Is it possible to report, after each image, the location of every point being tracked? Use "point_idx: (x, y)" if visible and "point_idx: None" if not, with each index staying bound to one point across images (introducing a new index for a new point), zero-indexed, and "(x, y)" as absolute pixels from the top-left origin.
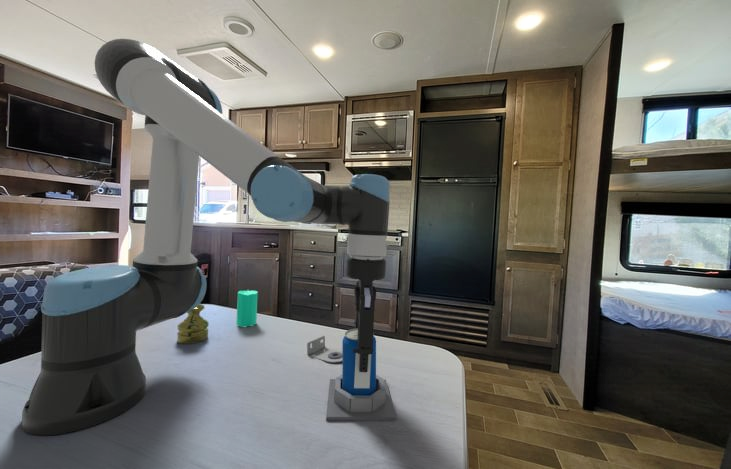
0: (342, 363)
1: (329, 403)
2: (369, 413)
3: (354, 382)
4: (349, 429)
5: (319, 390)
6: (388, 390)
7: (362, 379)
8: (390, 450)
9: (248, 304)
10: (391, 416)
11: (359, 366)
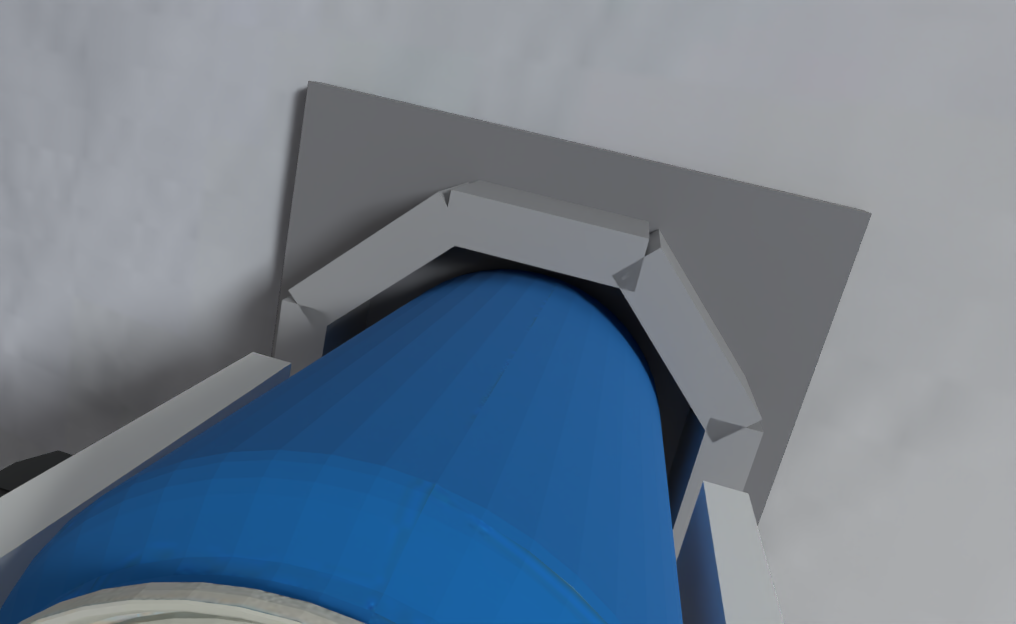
0: (480, 333)
1: (463, 134)
2: None
3: (236, 371)
4: (216, 229)
5: (737, 81)
6: None
7: None
8: (48, 404)
9: None
10: None
11: (15, 484)
